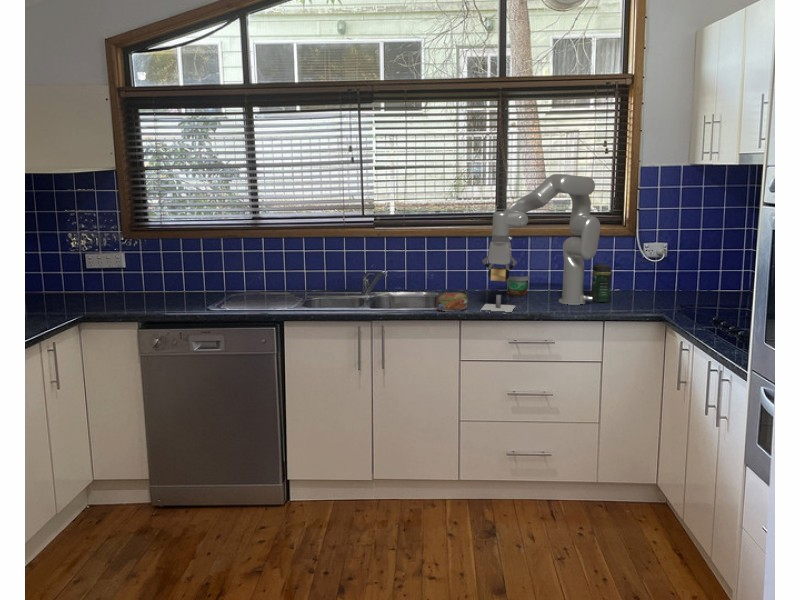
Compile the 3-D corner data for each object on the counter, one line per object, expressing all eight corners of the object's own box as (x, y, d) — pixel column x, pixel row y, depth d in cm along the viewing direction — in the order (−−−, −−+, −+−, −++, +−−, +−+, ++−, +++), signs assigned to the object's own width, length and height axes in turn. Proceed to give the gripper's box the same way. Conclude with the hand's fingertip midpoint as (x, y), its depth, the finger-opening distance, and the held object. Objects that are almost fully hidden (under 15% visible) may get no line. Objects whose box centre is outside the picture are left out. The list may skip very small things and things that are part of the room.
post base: (515, 307, 322) (515, 293, 320) (511, 313, 308) (512, 298, 307) (485, 305, 325) (485, 291, 324) (480, 311, 312) (481, 297, 311)
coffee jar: (611, 303, 332) (613, 265, 329) (594, 303, 332) (597, 265, 329) (605, 299, 342) (607, 262, 338) (589, 299, 342) (591, 262, 338)
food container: (503, 295, 350) (503, 276, 348) (504, 293, 355) (505, 274, 353) (527, 297, 346) (528, 277, 344) (529, 295, 352) (529, 275, 350)
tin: (437, 312, 311) (437, 294, 310) (435, 310, 314) (435, 292, 313) (468, 310, 315) (469, 292, 314) (466, 309, 318) (466, 291, 316)
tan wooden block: (506, 279, 316) (507, 268, 315) (505, 281, 310) (505, 270, 309) (492, 278, 318) (493, 267, 317) (490, 280, 312) (491, 269, 311)
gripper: (520, 239, 312) (518, 278, 315) (482, 237, 316) (481, 276, 320) (518, 240, 305) (517, 281, 308) (479, 239, 309) (478, 278, 313)
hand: (498, 278), depth 314 cm, fingers closed on tan wooden block, 6 cm apart
